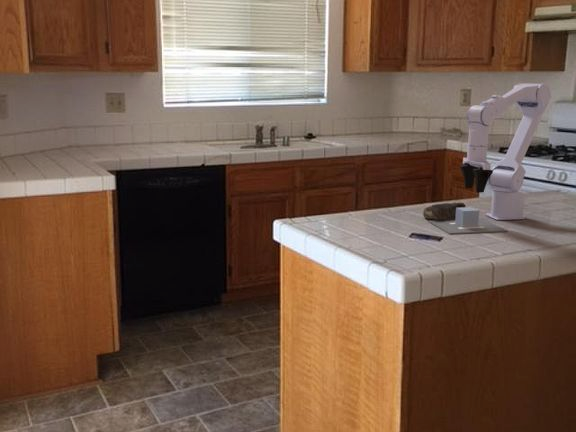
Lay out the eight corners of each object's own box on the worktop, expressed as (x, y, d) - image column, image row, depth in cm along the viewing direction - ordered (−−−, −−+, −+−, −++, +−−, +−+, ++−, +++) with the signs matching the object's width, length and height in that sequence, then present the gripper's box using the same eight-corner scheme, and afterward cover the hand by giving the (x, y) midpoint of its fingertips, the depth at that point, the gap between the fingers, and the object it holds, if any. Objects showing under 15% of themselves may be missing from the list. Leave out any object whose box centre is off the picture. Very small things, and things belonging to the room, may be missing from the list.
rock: (420, 218, 204) (420, 205, 204) (455, 213, 213) (455, 200, 212) (437, 221, 198) (438, 208, 197) (473, 216, 206) (473, 203, 205)
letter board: (482, 219, 203) (482, 218, 203) (507, 231, 188) (507, 230, 187) (428, 221, 200) (428, 220, 200) (449, 234, 185) (449, 232, 184)
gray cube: (470, 223, 197) (471, 207, 195) (477, 226, 192) (479, 210, 191) (455, 223, 196) (456, 207, 195) (462, 227, 191) (463, 211, 190)
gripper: (455, 143, 199) (451, 186, 202) (476, 148, 185) (472, 194, 188) (476, 143, 200) (472, 186, 203) (498, 148, 186) (494, 194, 189)
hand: (474, 190), depth 196 cm, fingers open, 7 cm apart
